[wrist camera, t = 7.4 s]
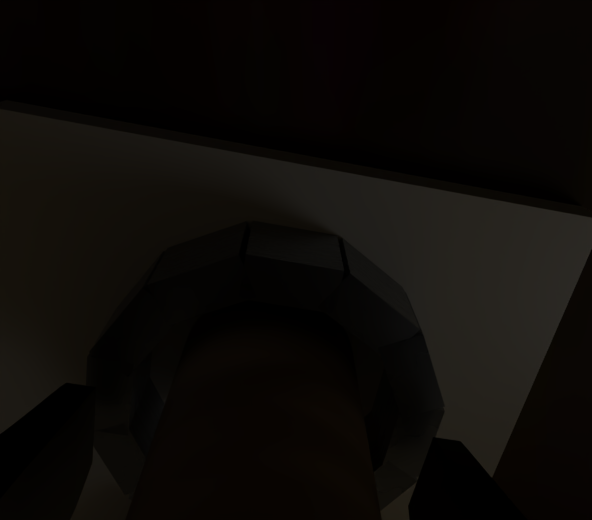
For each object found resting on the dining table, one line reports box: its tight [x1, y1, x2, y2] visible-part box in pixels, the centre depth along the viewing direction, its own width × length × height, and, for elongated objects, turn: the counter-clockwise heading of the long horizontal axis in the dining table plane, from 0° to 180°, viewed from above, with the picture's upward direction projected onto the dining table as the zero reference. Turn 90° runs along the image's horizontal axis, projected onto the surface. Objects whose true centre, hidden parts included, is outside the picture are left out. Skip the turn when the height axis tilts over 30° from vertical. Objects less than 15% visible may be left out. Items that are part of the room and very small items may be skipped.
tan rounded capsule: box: [125, 300, 382, 520], centre depth 11 cm, size 4×4×6 cm
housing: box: [0, 100, 592, 520], centre depth 16 cm, size 14×20×3 cm
